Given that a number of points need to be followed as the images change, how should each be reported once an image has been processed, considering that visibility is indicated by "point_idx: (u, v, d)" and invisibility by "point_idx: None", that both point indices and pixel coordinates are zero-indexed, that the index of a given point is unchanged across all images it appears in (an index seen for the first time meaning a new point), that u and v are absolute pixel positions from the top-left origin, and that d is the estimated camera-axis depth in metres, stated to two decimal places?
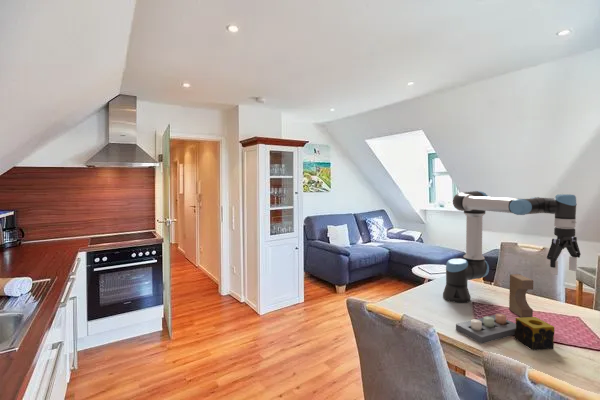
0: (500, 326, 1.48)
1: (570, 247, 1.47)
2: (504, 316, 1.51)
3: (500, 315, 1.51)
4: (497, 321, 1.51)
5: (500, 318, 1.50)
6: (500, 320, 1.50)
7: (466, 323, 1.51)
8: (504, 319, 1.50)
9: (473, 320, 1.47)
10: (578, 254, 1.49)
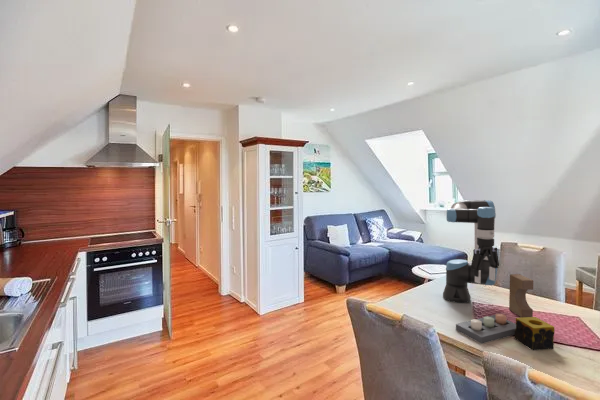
0: (500, 326, 1.48)
1: (490, 256, 1.58)
2: (504, 316, 1.51)
3: (500, 315, 1.51)
4: (497, 321, 1.51)
5: (500, 318, 1.50)
6: (500, 320, 1.50)
7: (466, 323, 1.51)
8: (504, 319, 1.50)
9: (473, 320, 1.47)
10: (497, 264, 1.60)
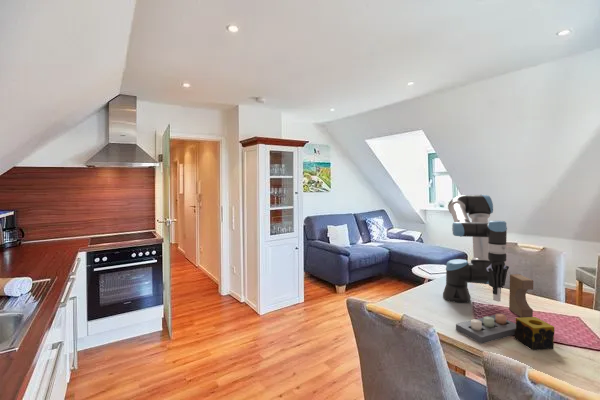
0: (500, 326, 1.48)
1: (499, 273, 1.51)
2: (504, 316, 1.51)
3: (500, 315, 1.51)
4: (497, 321, 1.51)
5: (500, 318, 1.50)
6: (500, 320, 1.50)
7: (466, 323, 1.51)
8: (504, 319, 1.50)
9: (473, 320, 1.47)
10: (502, 284, 1.52)
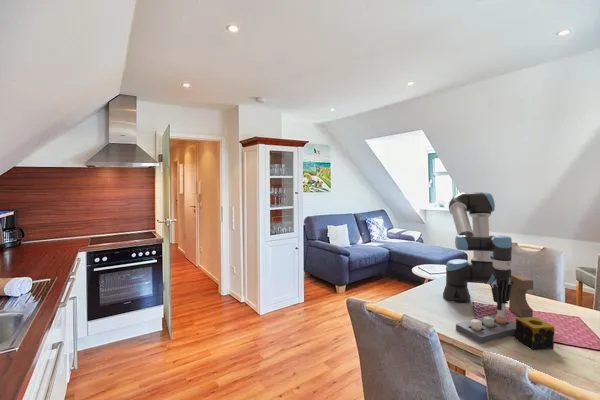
0: (500, 326, 1.48)
1: (504, 289, 1.50)
2: (504, 317, 1.51)
3: None
4: (497, 322, 1.51)
5: (500, 319, 1.50)
6: (500, 321, 1.50)
7: (466, 323, 1.51)
8: (504, 320, 1.50)
9: (473, 320, 1.47)
10: None
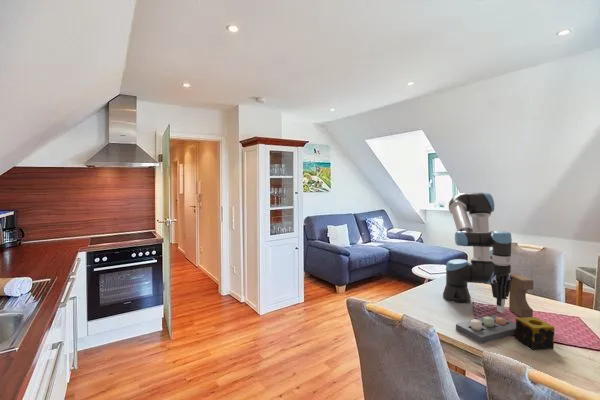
0: (500, 326, 1.48)
1: (503, 284, 1.50)
2: (504, 319, 1.51)
3: (500, 319, 1.52)
4: None
5: (500, 321, 1.50)
6: (500, 324, 1.50)
7: (466, 323, 1.51)
8: (504, 322, 1.50)
9: (473, 320, 1.47)
10: (506, 295, 1.51)
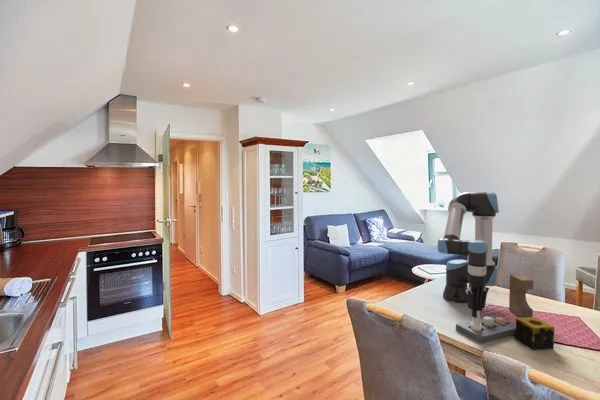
0: (500, 326, 1.48)
1: (479, 295, 1.45)
2: (504, 319, 1.51)
3: (500, 319, 1.52)
4: None
5: (500, 321, 1.50)
6: (500, 324, 1.50)
7: (466, 323, 1.51)
8: (504, 322, 1.50)
9: (473, 323, 1.47)
10: (482, 306, 1.46)
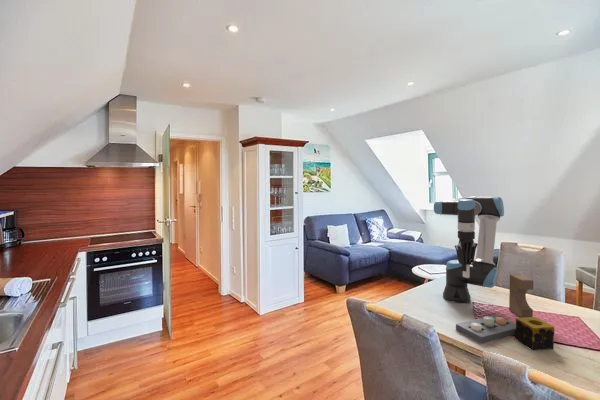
0: (500, 326, 1.48)
1: (468, 250, 1.55)
2: (504, 319, 1.51)
3: (500, 319, 1.52)
4: None
5: (500, 321, 1.50)
6: (500, 324, 1.50)
7: (466, 323, 1.51)
8: (504, 322, 1.50)
9: (473, 323, 1.47)
10: (471, 260, 1.56)
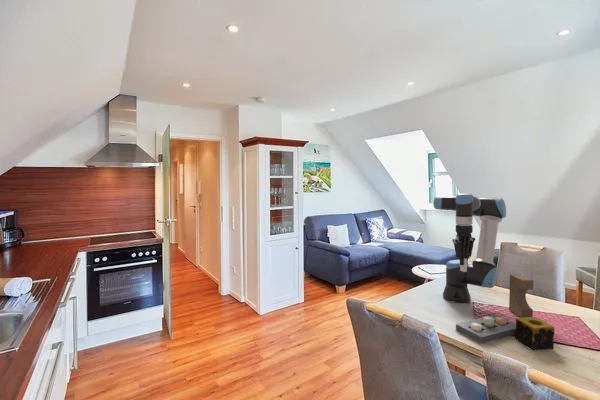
0: (500, 326, 1.48)
1: (466, 244, 1.56)
2: (504, 319, 1.51)
3: (500, 319, 1.52)
4: None
5: (500, 321, 1.50)
6: (500, 324, 1.50)
7: (466, 323, 1.51)
8: (504, 322, 1.50)
9: (473, 323, 1.47)
10: (469, 255, 1.57)
